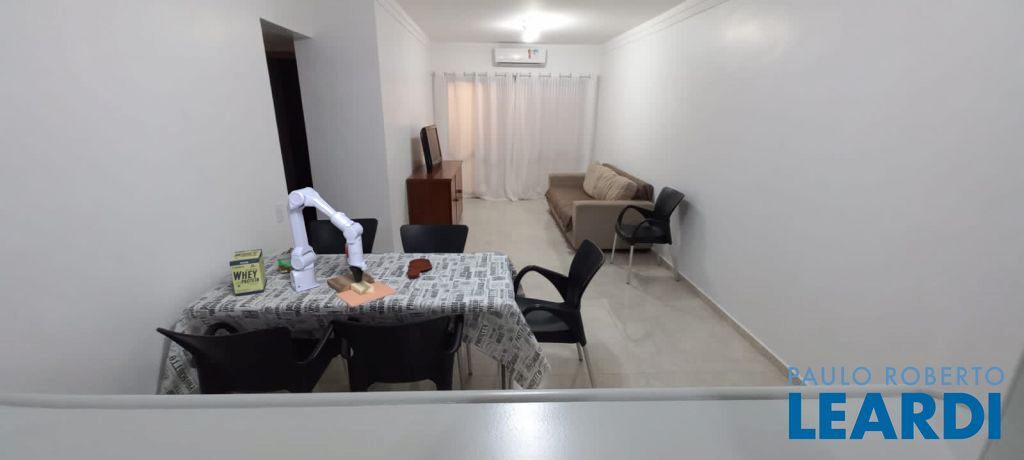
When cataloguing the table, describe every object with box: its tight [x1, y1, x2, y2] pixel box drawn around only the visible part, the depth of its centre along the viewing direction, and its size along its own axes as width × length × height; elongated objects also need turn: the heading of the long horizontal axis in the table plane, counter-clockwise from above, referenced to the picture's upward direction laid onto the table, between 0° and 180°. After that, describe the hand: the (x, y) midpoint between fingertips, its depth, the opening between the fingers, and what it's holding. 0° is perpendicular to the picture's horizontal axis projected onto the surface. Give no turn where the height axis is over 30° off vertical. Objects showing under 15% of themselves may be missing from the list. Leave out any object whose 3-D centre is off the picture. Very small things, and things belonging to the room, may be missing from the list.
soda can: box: [344, 240, 349, 265], centre depth 210 cm, size 7×7×12 cm
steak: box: [405, 257, 433, 280], centre depth 199 cm, size 12×20×4 cm, turn 176°
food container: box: [276, 247, 294, 275], centre depth 201 cm, size 12×6×10 cm, turn 179°
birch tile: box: [351, 281, 374, 296], centre depth 178 cm, size 6×9×2 cm, turn 45°
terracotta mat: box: [335, 281, 398, 307], centre depth 176 cm, size 20×16×1 cm
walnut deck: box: [326, 272, 375, 294], centre depth 186 cm, size 16×13×2 cm
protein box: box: [228, 248, 268, 297], centre depth 179 cm, size 10×16×16 cm
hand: (358, 281), depth 179 cm, fingers closed
